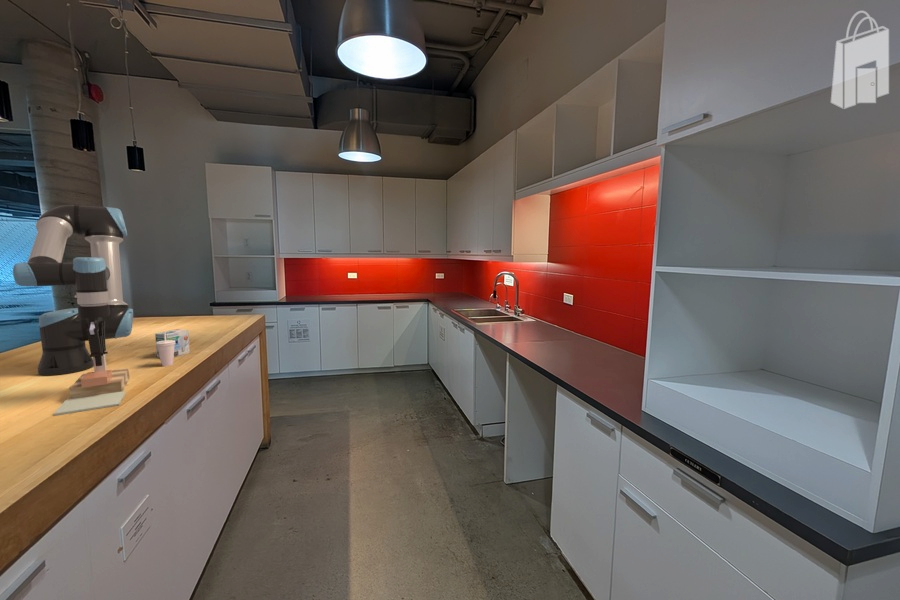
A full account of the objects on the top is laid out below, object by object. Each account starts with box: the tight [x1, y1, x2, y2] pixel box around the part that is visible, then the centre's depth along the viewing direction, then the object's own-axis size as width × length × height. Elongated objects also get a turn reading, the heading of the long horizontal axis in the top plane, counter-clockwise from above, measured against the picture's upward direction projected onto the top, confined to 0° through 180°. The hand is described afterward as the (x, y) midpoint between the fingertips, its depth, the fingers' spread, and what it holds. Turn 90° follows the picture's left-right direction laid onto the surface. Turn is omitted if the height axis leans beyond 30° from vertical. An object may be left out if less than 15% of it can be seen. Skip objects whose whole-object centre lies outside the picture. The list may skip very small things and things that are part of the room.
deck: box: [69, 368, 130, 399], centre depth 125 cm, size 16×12×4 cm
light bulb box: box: [154, 328, 190, 359], centre depth 166 cm, size 11×7×11 cm, turn 167°
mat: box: [53, 390, 127, 417], centre depth 114 cm, size 12×14×1 cm
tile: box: [81, 369, 113, 387], centre depth 121 cm, size 8×6×2 cm
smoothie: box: [155, 331, 175, 367], centre depth 152 cm, size 6×6×14 cm
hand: (100, 374), depth 125 cm, fingers closed
